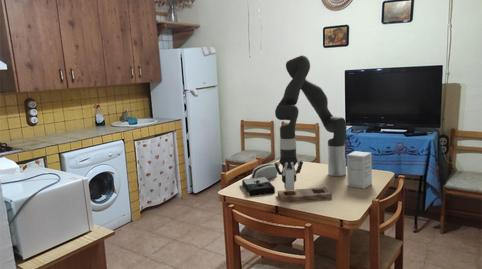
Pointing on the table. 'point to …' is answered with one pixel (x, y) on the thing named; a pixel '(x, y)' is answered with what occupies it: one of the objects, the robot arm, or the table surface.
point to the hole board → (304, 195)
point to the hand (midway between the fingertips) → (289, 182)
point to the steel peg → (289, 179)
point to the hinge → (265, 171)
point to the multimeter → (258, 186)
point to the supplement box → (359, 169)
